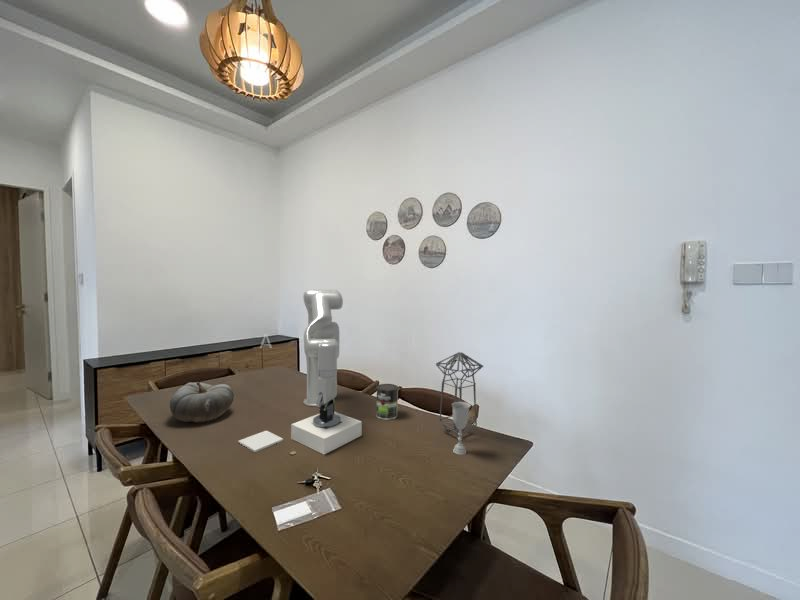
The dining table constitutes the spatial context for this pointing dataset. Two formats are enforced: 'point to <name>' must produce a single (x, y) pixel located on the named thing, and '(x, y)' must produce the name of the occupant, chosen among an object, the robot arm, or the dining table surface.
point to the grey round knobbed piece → (331, 418)
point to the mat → (260, 441)
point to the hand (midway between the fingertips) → (327, 416)
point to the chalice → (460, 423)
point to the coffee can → (387, 401)
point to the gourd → (201, 402)
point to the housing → (326, 433)
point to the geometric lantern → (465, 357)
